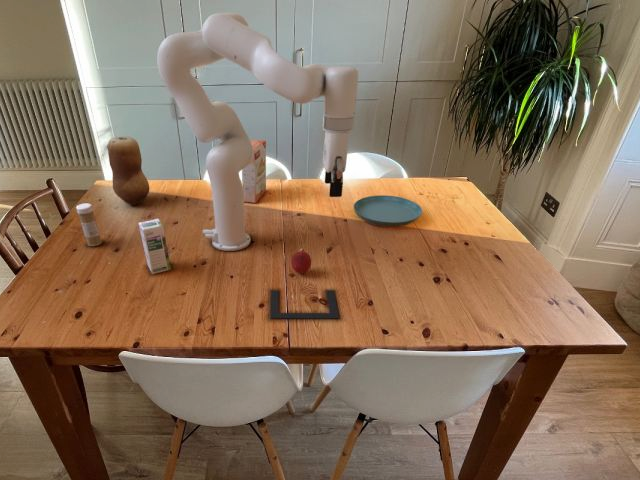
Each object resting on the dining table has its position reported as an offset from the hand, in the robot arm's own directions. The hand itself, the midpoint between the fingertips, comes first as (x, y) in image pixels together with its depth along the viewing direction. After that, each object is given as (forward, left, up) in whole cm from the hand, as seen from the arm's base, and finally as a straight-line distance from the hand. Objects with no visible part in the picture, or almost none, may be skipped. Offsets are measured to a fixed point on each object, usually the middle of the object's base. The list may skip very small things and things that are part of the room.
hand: (332, 189), depth 111 cm
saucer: (+25, +32, -23) cm, 47 cm away
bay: (-8, -21, -23) cm, 32 cm away
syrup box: (-50, -4, -23) cm, 55 cm away
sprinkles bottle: (-75, +11, -23) cm, 79 cm away
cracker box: (-24, +51, -23) cm, 61 cm away
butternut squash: (-72, +45, -23) cm, 88 cm away
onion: (-8, -7, -23) cm, 25 cm away
